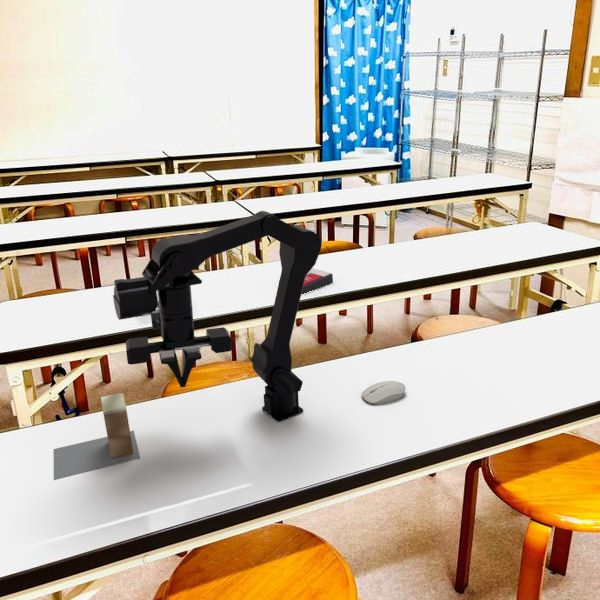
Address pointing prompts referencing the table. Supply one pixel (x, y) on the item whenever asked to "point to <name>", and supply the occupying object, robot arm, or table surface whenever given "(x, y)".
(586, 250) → the table surface
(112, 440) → the walnut block
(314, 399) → the table surface
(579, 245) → the table surface
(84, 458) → the felt mat
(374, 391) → the computer mouse
